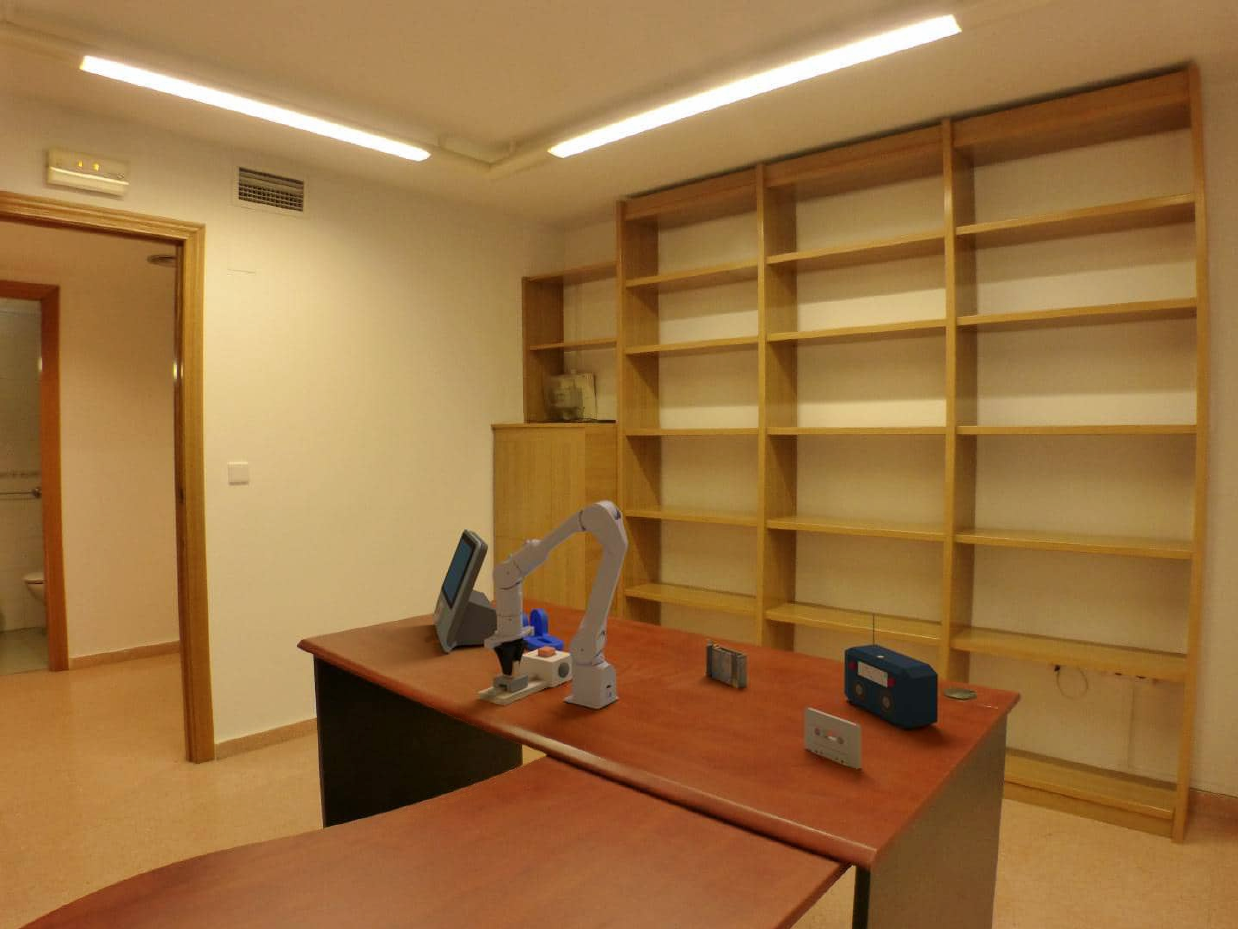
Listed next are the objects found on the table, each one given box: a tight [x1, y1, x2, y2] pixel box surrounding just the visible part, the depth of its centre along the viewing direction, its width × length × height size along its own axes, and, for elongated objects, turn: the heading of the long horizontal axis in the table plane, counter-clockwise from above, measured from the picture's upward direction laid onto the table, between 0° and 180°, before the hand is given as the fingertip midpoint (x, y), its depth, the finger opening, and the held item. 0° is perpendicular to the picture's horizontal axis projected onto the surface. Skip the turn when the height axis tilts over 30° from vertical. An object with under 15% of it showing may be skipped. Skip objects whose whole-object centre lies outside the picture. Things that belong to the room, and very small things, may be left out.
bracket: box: [522, 607, 565, 652], centre depth 217 cm, size 18×8×9 cm, turn 37°
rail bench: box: [477, 678, 550, 706], centre depth 177 cm, size 8×15×2 cm, turn 145°
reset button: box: [538, 646, 556, 658], centre depth 186 cm, size 3×3×2 cm
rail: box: [488, 673, 539, 696], centre depth 177 cm, size 2×15×1 cm, turn 145°
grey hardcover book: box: [704, 638, 748, 688], centre depth 185 cm, size 11×3×10 cm, turn 35°
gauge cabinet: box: [519, 649, 572, 688], centre depth 186 cm, size 10×8×6 cm
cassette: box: [803, 706, 862, 770], centre depth 140 cm, size 12×2×8 cm, turn 37°
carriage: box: [492, 660, 528, 692], centre depth 176 cm, size 6×5×6 cm
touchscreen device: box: [431, 528, 497, 654], centre depth 227 cm, size 35×20×30 cm, turn 18°
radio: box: [843, 612, 939, 730], centre depth 162 cm, size 21×9×20 cm, turn 21°
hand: (510, 673), depth 176 cm, fingers closed on carriage, 2 cm apart
